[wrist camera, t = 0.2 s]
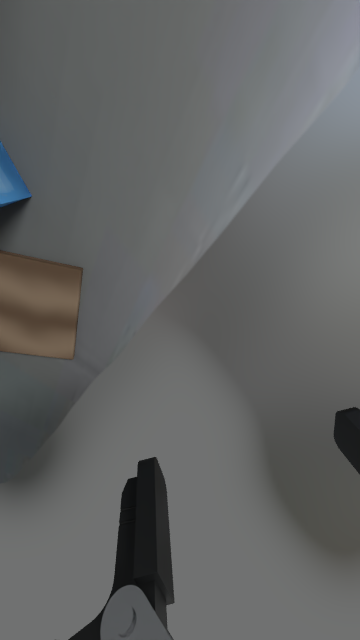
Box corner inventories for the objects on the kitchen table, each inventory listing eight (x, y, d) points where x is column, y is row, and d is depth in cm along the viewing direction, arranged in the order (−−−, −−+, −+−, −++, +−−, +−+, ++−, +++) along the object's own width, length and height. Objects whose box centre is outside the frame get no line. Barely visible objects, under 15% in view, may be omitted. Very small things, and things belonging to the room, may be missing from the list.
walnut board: (-56, 238, 24) (-61, 240, 23) (82, 268, 28) (81, 270, 27) (-38, 342, 30) (-42, 346, 30) (74, 355, 34) (72, 359, 33)
